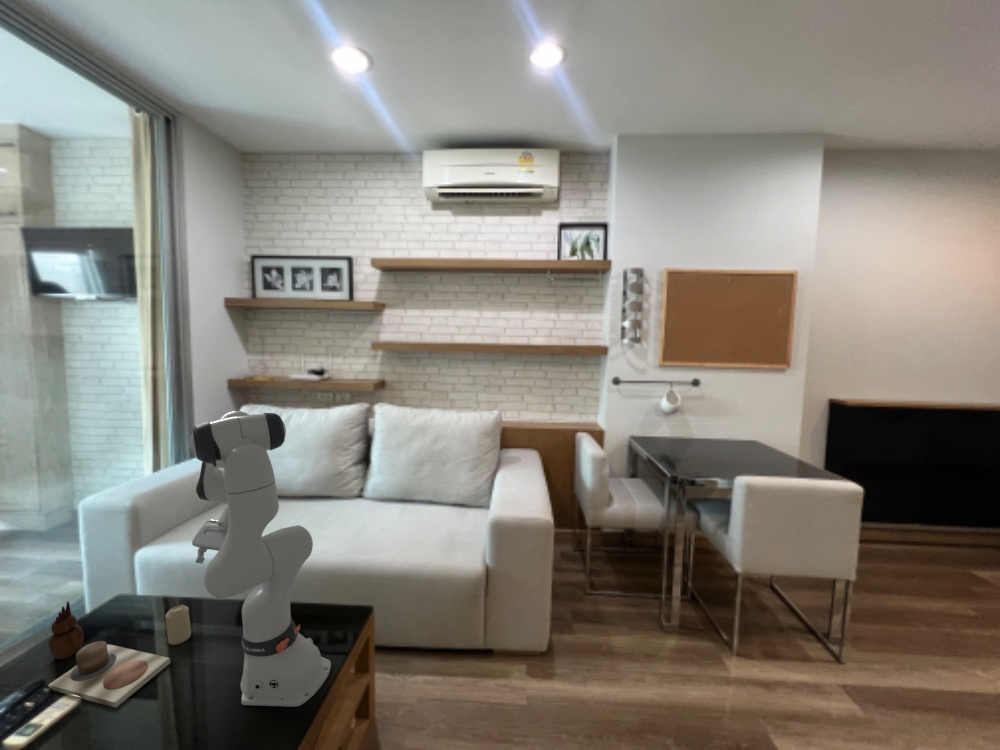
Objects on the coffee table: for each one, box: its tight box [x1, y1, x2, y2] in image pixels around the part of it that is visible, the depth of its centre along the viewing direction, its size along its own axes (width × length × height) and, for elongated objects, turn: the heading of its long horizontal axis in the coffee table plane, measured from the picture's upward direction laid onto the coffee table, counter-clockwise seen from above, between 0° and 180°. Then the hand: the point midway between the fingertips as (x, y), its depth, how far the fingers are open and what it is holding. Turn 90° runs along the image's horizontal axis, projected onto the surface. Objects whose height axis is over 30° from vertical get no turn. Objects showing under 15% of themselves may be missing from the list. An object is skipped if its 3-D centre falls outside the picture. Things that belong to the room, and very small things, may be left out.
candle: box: [164, 604, 192, 646], centre depth 127 cm, size 6×6×10 cm
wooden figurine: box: [48, 601, 85, 660], centre depth 121 cm, size 7×6×15 cm
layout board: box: [47, 640, 171, 708], centre depth 114 cm, size 22×14×7 cm, turn 78°
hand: (210, 565), depth 138 cm, fingers open, 8 cm apart
